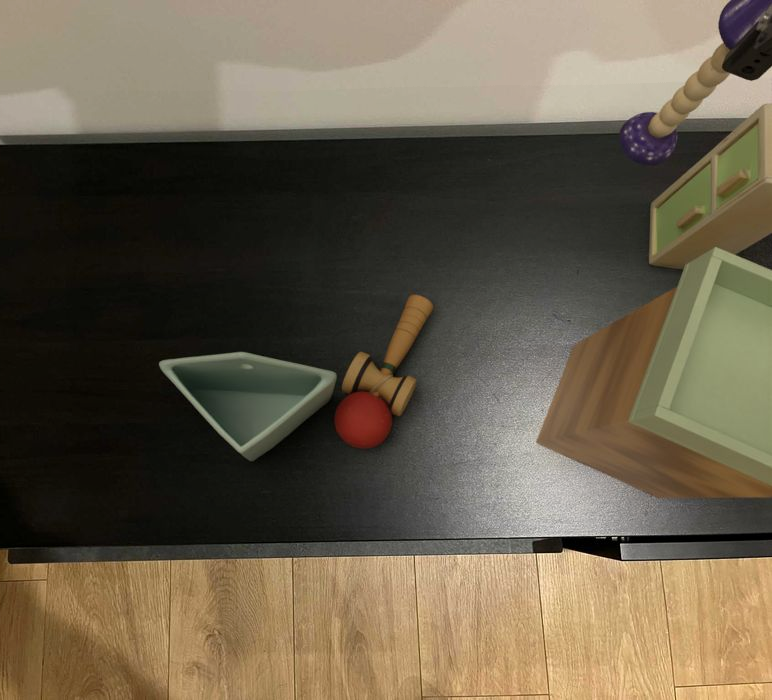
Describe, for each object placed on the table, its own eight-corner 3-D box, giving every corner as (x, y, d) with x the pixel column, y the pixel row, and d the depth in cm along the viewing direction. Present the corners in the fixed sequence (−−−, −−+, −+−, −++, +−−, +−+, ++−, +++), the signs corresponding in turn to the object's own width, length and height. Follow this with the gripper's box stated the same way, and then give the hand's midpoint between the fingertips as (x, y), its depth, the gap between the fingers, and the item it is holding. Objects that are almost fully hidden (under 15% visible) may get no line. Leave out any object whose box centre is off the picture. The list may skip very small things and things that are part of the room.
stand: (693, 397, 76) (866, 351, 53) (658, 498, 74) (822, 497, 51) (574, 344, 78) (691, 277, 54) (535, 442, 75) (641, 416, 52)
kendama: (379, 293, 80) (310, 430, 74) (398, 274, 74) (325, 421, 68) (436, 326, 81) (372, 464, 75) (460, 310, 75) (393, 458, 69)
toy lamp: (646, 101, 54) (794, -71, 38) (693, 140, 53) (864, -18, 37) (606, 140, 53) (739, -18, 37) (653, 180, 53) (810, 37, 36)
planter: (175, 456, 75) (131, 440, 55) (183, 383, 76) (143, 344, 57) (327, 466, 75) (335, 454, 55) (331, 393, 76) (341, 357, 57)
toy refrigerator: (643, 200, 81) (758, 99, 61) (705, 208, 81) (842, 110, 61) (640, 264, 80) (757, 183, 59) (704, 273, 79) (844, 194, 59)
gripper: (1120, -89, 23) (776, 159, 40) (1195, -383, 26) (845, -35, 42) (897, -168, 24) (652, 109, 40) (994, -446, 26) (727, -79, 43)
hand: (752, 34), depth 41 cm, fingers closed on toy lamp, 4 cm apart
